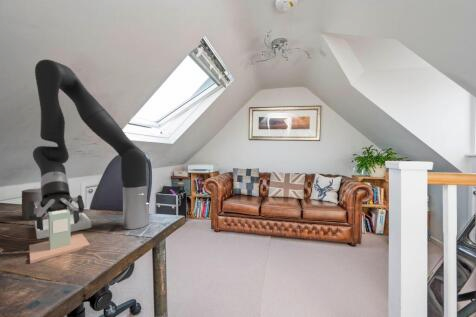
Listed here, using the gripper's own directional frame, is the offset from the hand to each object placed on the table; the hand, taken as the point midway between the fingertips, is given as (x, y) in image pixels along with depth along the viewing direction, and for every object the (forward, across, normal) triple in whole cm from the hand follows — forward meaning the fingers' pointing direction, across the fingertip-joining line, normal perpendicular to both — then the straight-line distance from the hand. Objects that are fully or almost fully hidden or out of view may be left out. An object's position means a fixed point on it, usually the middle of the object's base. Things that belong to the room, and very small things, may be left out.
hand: (59, 225), depth 67 cm
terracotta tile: (+5, 0, +6) cm, 8 cm away
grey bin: (-10, +3, +20) cm, 23 cm away
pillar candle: (-31, -4, +42) cm, 52 cm away
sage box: (+4, 0, +6) cm, 7 cm away
